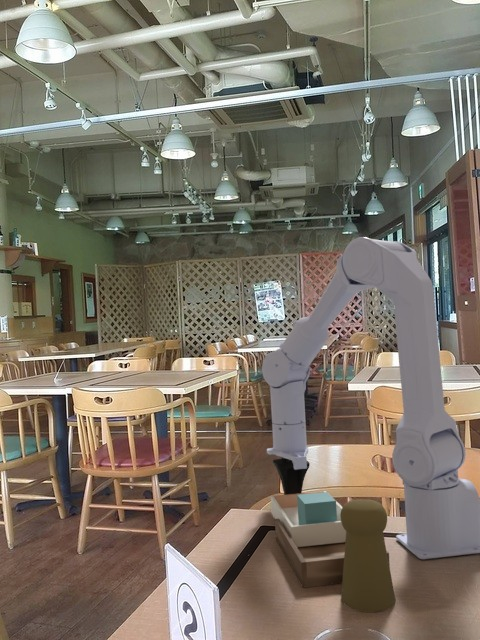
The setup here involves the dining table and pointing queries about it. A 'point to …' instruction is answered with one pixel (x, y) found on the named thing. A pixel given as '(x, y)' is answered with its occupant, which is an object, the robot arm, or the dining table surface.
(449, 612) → the dining table surface
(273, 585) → the dining table surface
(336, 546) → the dock
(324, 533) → the tray
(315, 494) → the teal block
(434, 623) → the dining table surface
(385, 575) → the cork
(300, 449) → the robot arm
